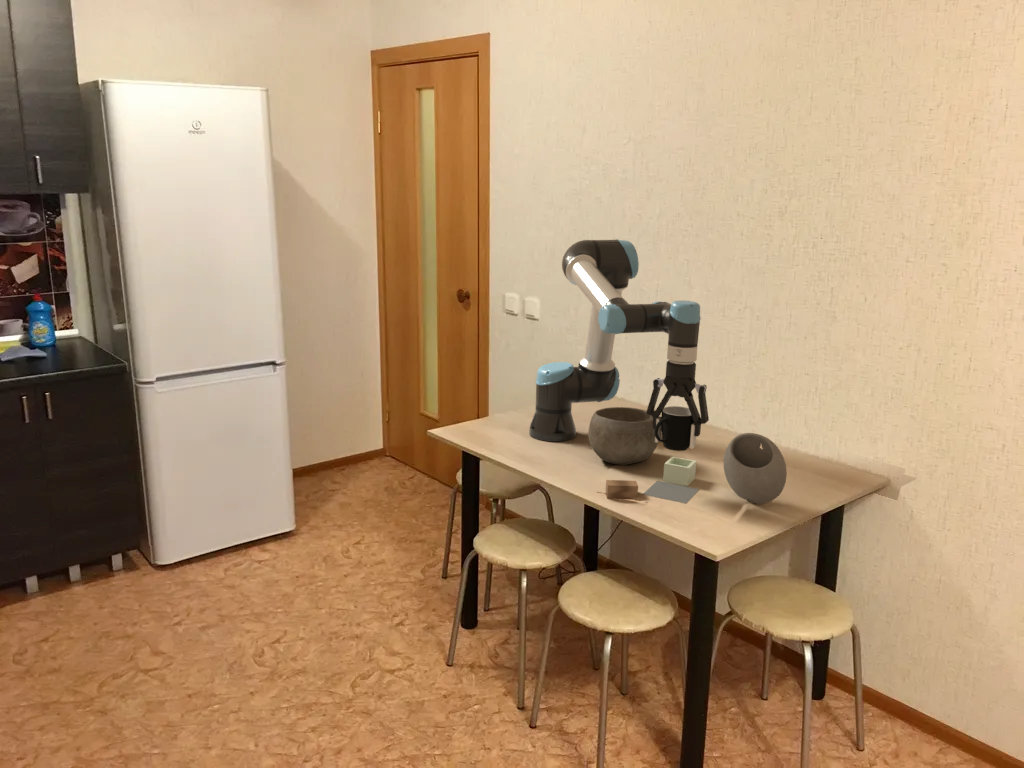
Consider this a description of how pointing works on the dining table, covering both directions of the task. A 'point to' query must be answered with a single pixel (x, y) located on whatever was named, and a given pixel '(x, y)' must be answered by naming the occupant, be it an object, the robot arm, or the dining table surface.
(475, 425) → the dining table surface
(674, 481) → the tub
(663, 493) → the coaster mat
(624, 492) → the walnut block
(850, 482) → the dining table surface
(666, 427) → the mug
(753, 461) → the planter
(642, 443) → the bowl
